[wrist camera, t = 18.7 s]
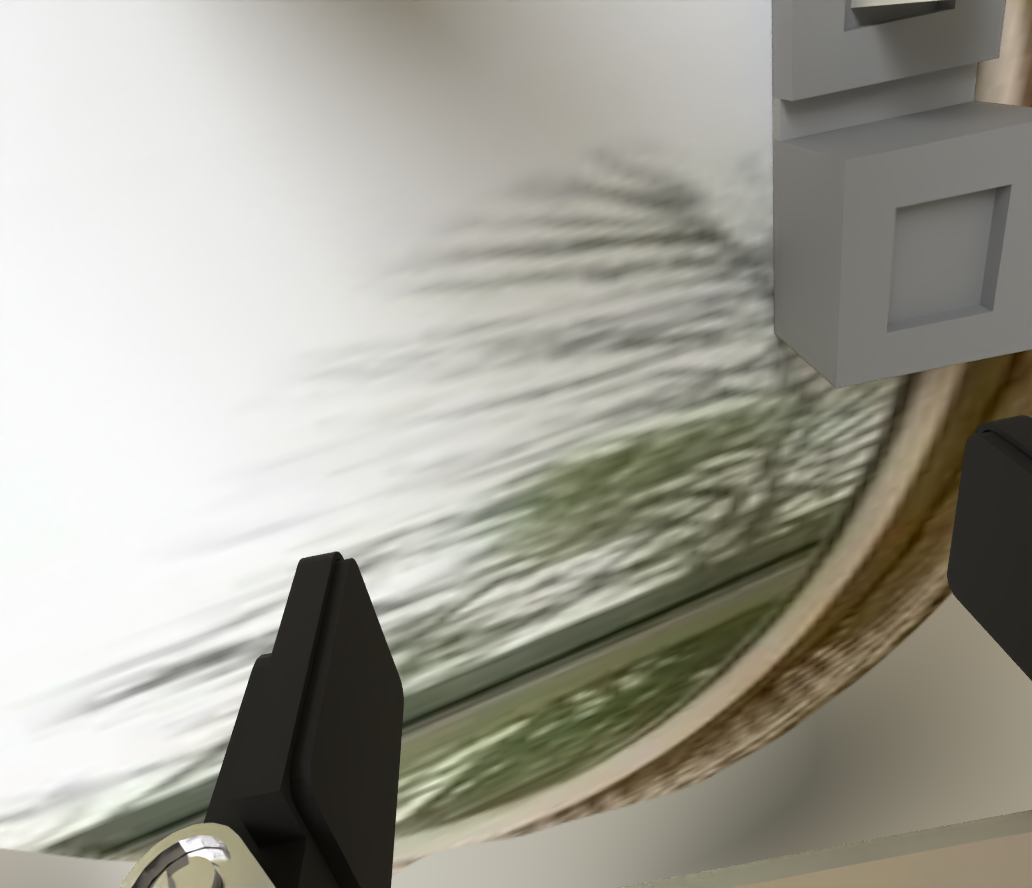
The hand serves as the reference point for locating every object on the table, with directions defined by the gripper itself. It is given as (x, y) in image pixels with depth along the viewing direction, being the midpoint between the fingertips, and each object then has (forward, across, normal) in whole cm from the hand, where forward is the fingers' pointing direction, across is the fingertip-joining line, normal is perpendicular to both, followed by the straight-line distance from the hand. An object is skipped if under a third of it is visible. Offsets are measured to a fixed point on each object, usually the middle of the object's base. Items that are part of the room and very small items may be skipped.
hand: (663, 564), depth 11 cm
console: (+31, -19, -1) cm, 37 cm away
